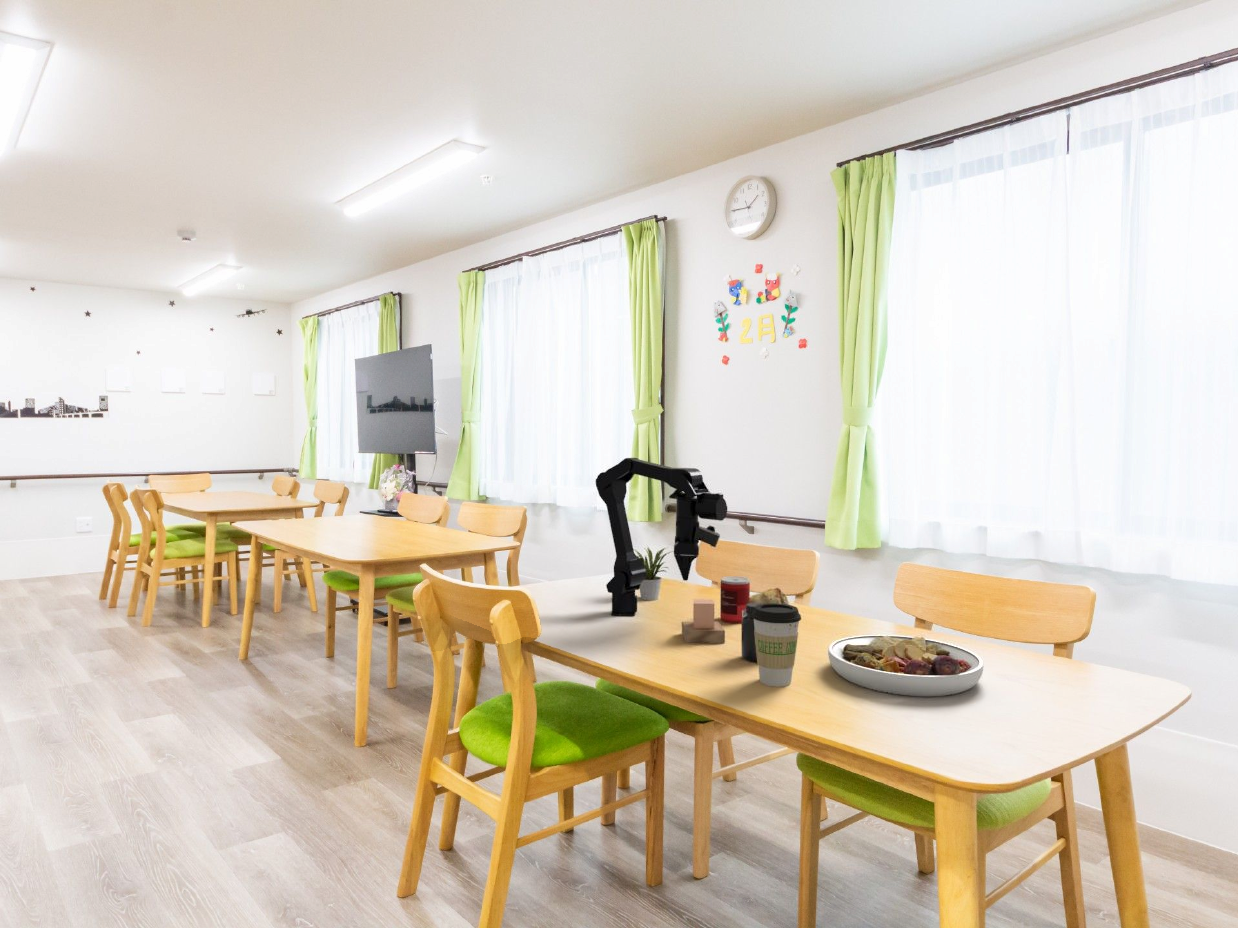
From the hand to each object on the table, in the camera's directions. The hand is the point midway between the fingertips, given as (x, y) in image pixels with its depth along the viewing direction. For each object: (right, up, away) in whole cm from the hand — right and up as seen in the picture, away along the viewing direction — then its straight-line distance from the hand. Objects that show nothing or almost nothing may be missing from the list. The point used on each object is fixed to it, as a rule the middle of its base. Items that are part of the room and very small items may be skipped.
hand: (685, 576), depth 204 cm
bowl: (+42, -15, -41) cm, 60 cm away
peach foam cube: (+3, -10, -13) cm, 17 cm away
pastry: (+24, -13, +10) cm, 29 cm away
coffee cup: (+14, -15, -45) cm, 50 cm away
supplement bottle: (+13, -14, -29) cm, 35 cm away
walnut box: (+3, -14, -13) cm, 19 cm away
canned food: (+14, -13, +6) cm, 19 cm away
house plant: (-7, -11, +32) cm, 35 cm away
